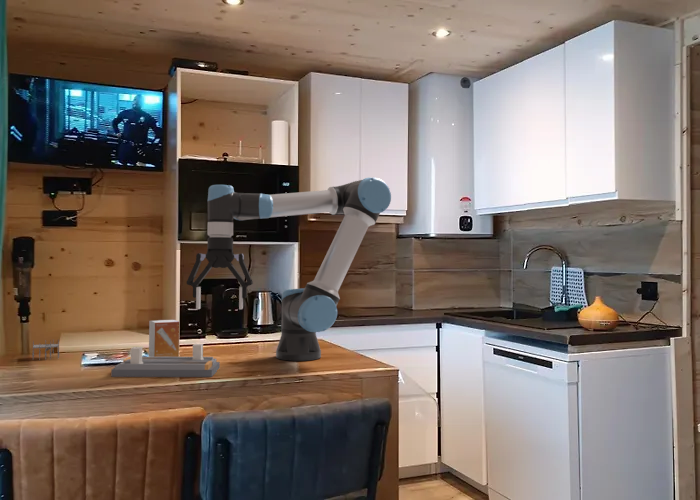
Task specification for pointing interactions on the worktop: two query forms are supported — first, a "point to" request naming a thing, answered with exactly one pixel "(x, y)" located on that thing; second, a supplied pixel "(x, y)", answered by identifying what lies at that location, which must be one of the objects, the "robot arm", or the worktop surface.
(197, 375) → the switch board
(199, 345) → the tab
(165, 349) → the small box
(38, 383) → the worktop surface
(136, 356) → the tab
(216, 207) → the robot arm
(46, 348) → the building frame
